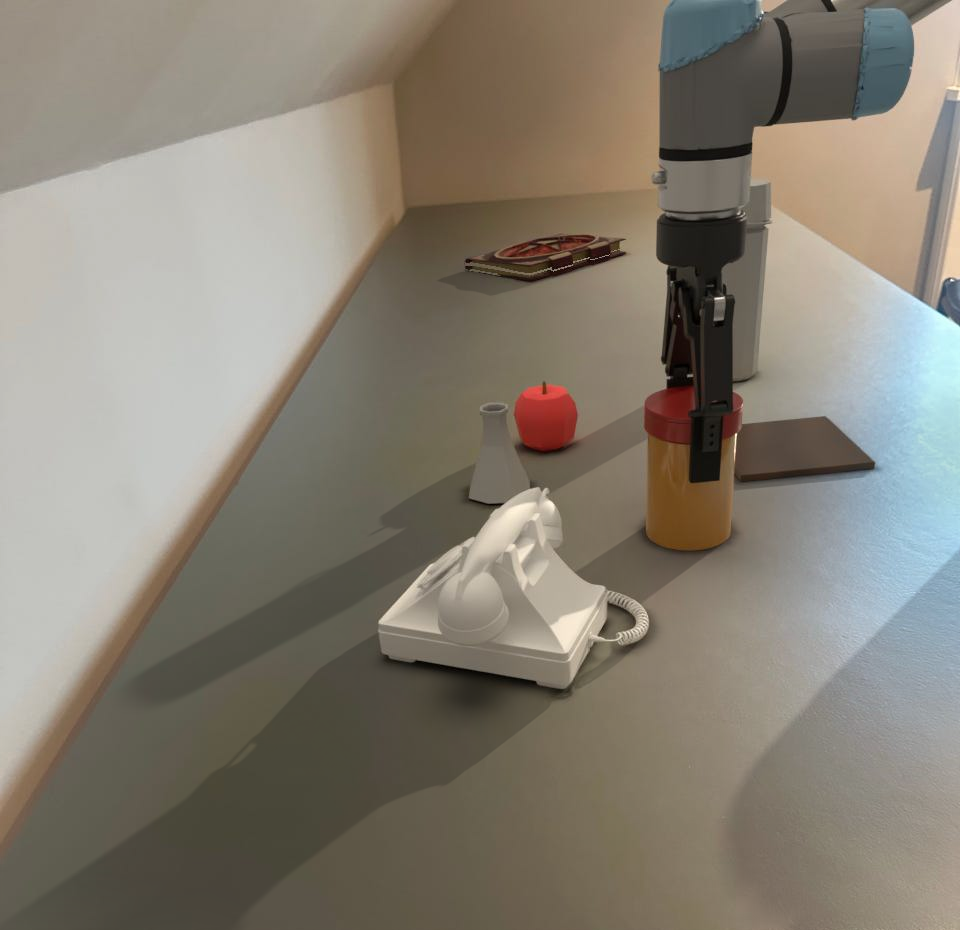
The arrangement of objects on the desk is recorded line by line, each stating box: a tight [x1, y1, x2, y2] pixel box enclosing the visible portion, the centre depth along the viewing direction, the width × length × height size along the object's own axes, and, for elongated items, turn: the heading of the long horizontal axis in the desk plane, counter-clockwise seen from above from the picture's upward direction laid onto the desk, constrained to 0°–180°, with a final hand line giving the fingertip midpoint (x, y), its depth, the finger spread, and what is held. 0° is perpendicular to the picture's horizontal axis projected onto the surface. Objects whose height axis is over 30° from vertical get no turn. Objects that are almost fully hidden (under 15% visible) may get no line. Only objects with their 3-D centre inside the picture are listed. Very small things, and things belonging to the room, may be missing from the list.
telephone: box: [377, 486, 650, 690], centre depth 82 cm, size 25×21×12 cm
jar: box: [645, 433, 737, 552], centre depth 95 cm, size 8×8×13 cm
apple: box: [513, 380, 579, 453], centre depth 119 cm, size 8×8×8 cm
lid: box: [643, 386, 745, 443], centre depth 92 cm, size 9×9×2 cm
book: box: [464, 233, 627, 282], centre depth 207 cm, size 28×21×5 cm
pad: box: [735, 415, 876, 483], centre depth 114 cm, size 15×15×1 cm
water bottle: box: [721, 178, 773, 383], centre depth 131 cm, size 9×8×25 cm
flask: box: [468, 402, 531, 505], centre depth 107 cm, size 7×7×10 cm
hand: (690, 460), depth 94 cm, fingers closed on lid, 9 cm apart
